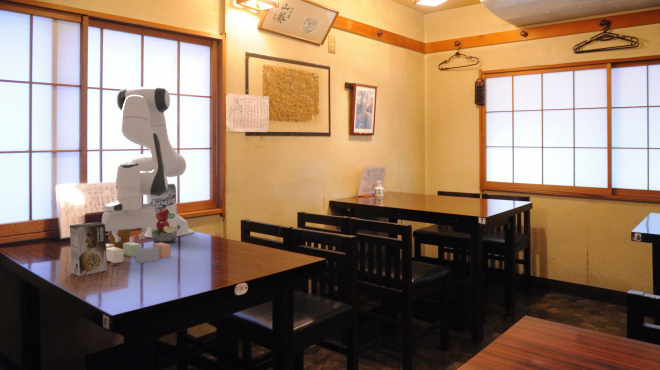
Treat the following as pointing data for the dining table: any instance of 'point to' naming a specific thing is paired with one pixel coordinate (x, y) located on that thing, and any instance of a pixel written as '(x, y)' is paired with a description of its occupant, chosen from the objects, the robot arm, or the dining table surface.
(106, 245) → the mustard block
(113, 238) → the disposable coffee cup
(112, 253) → the cream block
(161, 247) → the terracotta block
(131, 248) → the green block
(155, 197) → the juice carton
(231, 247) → the dining table surface
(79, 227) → the food box
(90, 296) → the dining table surface
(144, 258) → the slate block
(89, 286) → the dining table surface
